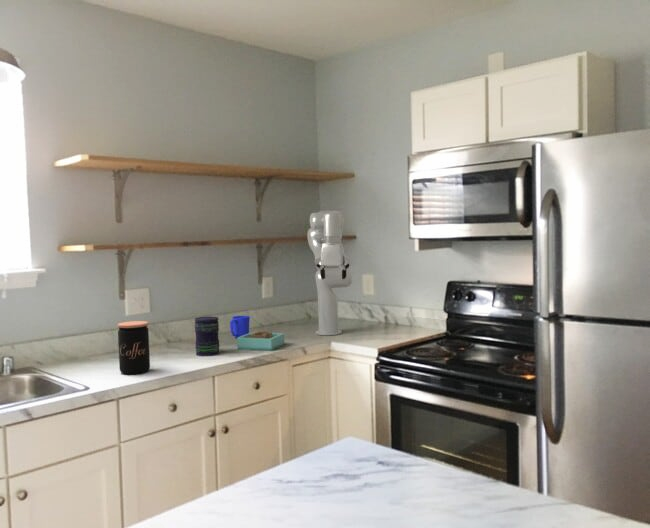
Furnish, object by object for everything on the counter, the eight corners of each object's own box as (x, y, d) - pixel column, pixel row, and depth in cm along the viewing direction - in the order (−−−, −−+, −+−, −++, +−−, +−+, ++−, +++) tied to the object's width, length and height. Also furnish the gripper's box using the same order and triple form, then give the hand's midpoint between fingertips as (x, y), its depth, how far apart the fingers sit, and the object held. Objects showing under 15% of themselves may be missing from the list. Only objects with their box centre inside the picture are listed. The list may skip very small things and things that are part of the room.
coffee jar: (116, 375, 218) (113, 325, 217) (124, 369, 228) (122, 321, 227) (146, 374, 218) (144, 324, 217) (153, 368, 229) (151, 320, 228)
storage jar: (192, 353, 255) (191, 318, 254) (214, 350, 260) (213, 315, 259) (200, 357, 246) (198, 320, 245) (223, 354, 251) (222, 318, 250)
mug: (224, 339, 285) (223, 318, 284) (239, 335, 295) (238, 315, 295) (238, 341, 281) (238, 319, 280) (253, 336, 292) (252, 315, 291)
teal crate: (251, 343, 274) (251, 332, 273) (284, 344, 268) (284, 333, 268) (237, 349, 261) (236, 337, 260) (271, 350, 255) (271, 339, 255)
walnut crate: (259, 342, 270) (258, 331, 269) (272, 343, 268) (272, 331, 267) (250, 346, 261) (249, 334, 261) (263, 347, 259) (263, 335, 259)
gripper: (311, 241, 269) (312, 279, 270) (348, 240, 263) (349, 279, 264) (317, 240, 276) (318, 278, 277) (353, 239, 270) (354, 278, 271)
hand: (333, 278), depth 271 cm, fingers open, 9 cm apart
